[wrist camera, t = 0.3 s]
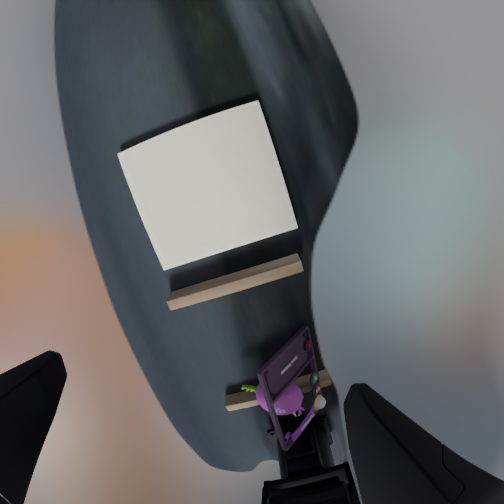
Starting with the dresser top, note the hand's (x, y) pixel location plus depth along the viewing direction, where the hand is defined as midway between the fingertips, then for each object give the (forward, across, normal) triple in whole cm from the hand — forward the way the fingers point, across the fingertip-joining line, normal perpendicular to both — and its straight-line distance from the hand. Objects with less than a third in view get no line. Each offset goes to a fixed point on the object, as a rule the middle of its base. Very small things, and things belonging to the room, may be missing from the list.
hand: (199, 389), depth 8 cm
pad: (+14, +2, -4) cm, 15 cm away
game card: (+13, -4, +7) cm, 15 cm away
